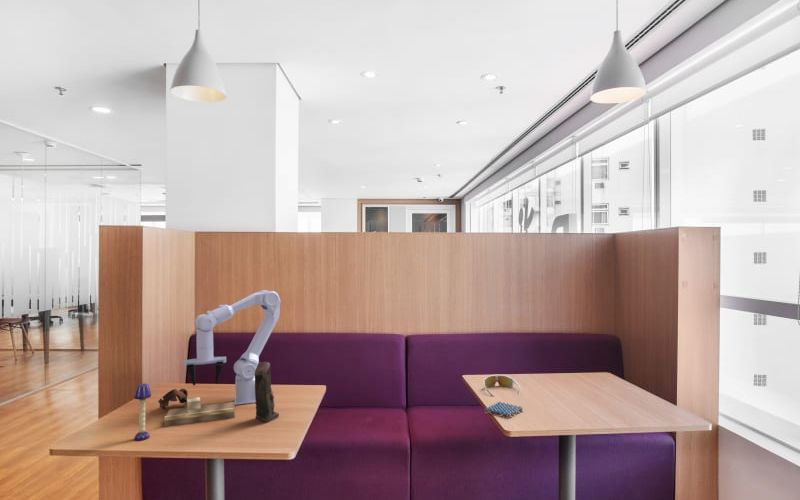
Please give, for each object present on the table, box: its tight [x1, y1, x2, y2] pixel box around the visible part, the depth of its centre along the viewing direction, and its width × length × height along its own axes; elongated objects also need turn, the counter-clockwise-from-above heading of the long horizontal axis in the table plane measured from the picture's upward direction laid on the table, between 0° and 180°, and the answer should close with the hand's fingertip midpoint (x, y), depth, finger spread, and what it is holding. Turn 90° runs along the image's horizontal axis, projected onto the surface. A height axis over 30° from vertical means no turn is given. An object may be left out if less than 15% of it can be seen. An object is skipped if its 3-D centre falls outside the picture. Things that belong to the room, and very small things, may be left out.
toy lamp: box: [133, 383, 152, 441], centre depth 144 cm, size 5×5×17 cm
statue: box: [255, 361, 280, 423], centre depth 159 cm, size 7×7×20 cm
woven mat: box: [483, 401, 524, 420], centre depth 162 cm, size 10×11×2 cm
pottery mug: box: [158, 388, 189, 410], centre depth 173 cm, size 12×10×8 cm
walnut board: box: [164, 401, 236, 427], centre depth 163 cm, size 22×12×4 cm, turn 110°
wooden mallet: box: [187, 396, 202, 414], centre depth 162 cm, size 4×10×5 cm, turn 28°
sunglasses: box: [482, 374, 521, 398], centre depth 186 cm, size 14×15×5 cm
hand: (205, 383), depth 171 cm, fingers open, 7 cm apart
